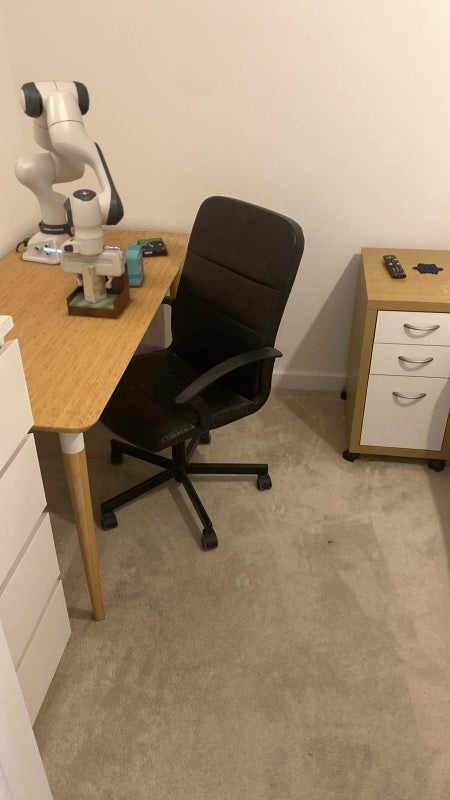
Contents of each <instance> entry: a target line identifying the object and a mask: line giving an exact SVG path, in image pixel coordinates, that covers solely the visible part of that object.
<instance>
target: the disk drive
mask: <svg viewBox="0 0 450 800" xmlns="http://www.w3.org/2000/svg"><path fill="white" fill-rule="evenodd" d="M137 245H141V246H142V254H143V258H148V257H161V256H167V255H168V251H167V250H168V249H167V247H166V244H165V242H164V239H163V238H162V237H153V238H151V237H150V238H144V239H143V238H142V239H139V238H138V239H137Z"/></svg>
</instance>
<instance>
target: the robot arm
mask: <svg viewBox="0 0 450 800" xmlns="http://www.w3.org/2000/svg"><path fill="white" fill-rule="evenodd" d="M19 103H20V106H21V109H22V110H23V113H24V114H25V115H26V116H27V117H28V118H29V117H30V118H32V121H33V139H34V141H35V143H36V144H37V145H38V146H39V147H40V148H41V149H42V150H45V151H48V152H43V153H32V154H27V155H25V156H21V157H18V158H17V159H16V161H15V163H14V167H13V168H14V170H13V171H14V175H15V178H16V180H17V181H18V182H19V183H20V184H21V185H22V186H24V187H25V188H27V189H29V191H31V192H32V193H33V194H34V196H35V198H36V199H37V202H38V204H39V208H40V213H41V221H39V222H38V224H37V225H36V226H37V229H38V228H39V231H38V232H37V233H35V234H34V235H33V236H32V237H27V238H24V239H23V240H22V241H20V242H19V243H17V245H16V248H15V252H18V251H19V247H20V246H21V245H22V244H23V247H24V248H26V250H25V251H24V253H22V256H21V258H22V260H23V261H27V262H33V263H40V264H47V265H48V264H49V265H57V264H60V270H61V271H62V272H63V273H66V274H73V278H74V279H75V281H76V282H77V281H78V284H77V286H84V285H83V280H82V279H81V278H80V276H79V274H82V265H92V266H95V268H96V275H105V276H108V279H109V278H110V279H109V281H107V282H106V283H105V287H106V288H111V286H112V285H111V282H112V280H113V278H114V276H121V275H122V274H123V273H124V271H125V267H124V263H125V261H124V251H123V249H121V247H119V246H116V245H115V246H112V245H106V243H105V235H104V231H103V227H102V226H117V225H118V224H119V223H120V222H121V221H122V219H124V216H125V207H124V204H123V202H122V200H121V196H120V195H119V192H118V190H117V188H116V185H115V183H114V179H113V177H112V175H111V172H110V170H109V167H108V164H107V161H106V158H105V156H104V154H103V151H102V149H101V147H100V145H99V144H98V143H97V142H96V141H94V140H92V138H91V137H90V136H89V135H88V132H87V131H86V128H85V123H84V119H83V116H85V115H87V113H88V112H89V111H90V105H91V98H90V94H89V91H88V88H87V86H86V85H85V84H84V83H83V82H80V81H76V80H72V81H70V80H69V81H67V80H46V81H36V82H34V81H29V82H25V83H23V85H22V86H21V87H20V92H19ZM86 165H87V166H89V167H90V168H91V169H92V170H93V171H94V174H95V176H96V179H97V181H98V185H99V187H100V190H101V193H97V192H96V191H94V190H93V189H89V188H82V189H81V188H80V189H77V190H75V191H74V192H72V194H71V196H69V197H68V196H67V195H65V194H63V193H62V192H61V193H60V192H58V191H55V190H54V189H53V185H57V184H58V185H59V184H65V183H72V182H74V181H77V180H81V179H82V178H83V177H84V175H85V172H86Z"/></svg>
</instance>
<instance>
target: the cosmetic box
mask: <svg viewBox="0 0 450 800" xmlns="http://www.w3.org/2000/svg"><path fill="white" fill-rule="evenodd" d="M82 275H83V285H84V294H85V301H88V302H92V303H97V302H99V301H101V300H103V299H105V298H107V293H106V287H105V283H106V281H105V275H96V268H95V266H92V265H82Z"/></svg>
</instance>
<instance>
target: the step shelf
mask: <svg viewBox="0 0 450 800" xmlns="http://www.w3.org/2000/svg"><path fill="white" fill-rule="evenodd" d="M124 267H125V271H124V273H123V274H122V275H121V276H114V278H113V280H112V282H111V285H112V286H111V288H106V293H107V298H105V299H103V300H101V301H99V302H97V303H92V302H88V301H85V294H84V286H78V281H77V280H76V284H77V286H76V287H75V288H74V289H73V291H71V292H70V294H68V296H66V306H67V312H68V314H67V315H68V316H77V317H87V318H88V317H90V318H100V319H101V318H102V319H114V320H115V319H116V320H117V319H118V318H119V317H120V315H121V314H122V312H123V311H124V310H125V308H126V307H127V305H129V303H130V302H131V291H130V286H129V277H128V265H127V262H125V261H124ZM79 276H80V278H81V279H82V280H83V275H82V274H79ZM109 279H110V278H109ZM109 279H108V276H105V281H106V282H107V281H109Z"/></svg>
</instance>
